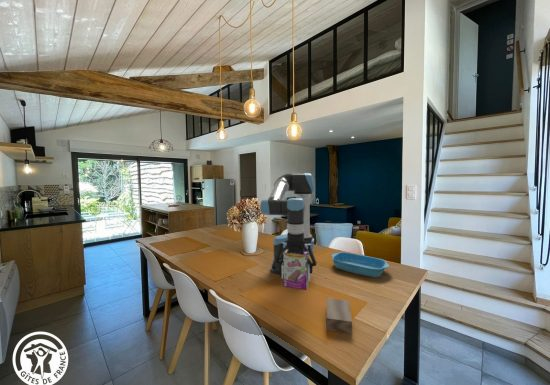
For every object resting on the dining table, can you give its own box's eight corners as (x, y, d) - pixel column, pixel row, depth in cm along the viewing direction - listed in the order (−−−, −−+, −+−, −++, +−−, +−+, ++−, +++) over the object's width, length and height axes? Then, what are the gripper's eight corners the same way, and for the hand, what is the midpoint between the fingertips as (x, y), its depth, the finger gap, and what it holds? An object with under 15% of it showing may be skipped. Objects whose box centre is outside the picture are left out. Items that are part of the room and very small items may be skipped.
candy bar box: (282, 287, 107) (282, 252, 105) (285, 282, 112) (285, 249, 110) (306, 290, 103) (306, 255, 102) (308, 285, 108) (308, 251, 107)
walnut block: (326, 329, 95) (326, 318, 94) (326, 308, 110) (327, 298, 110) (351, 333, 92) (352, 321, 92) (348, 310, 108) (349, 300, 108)
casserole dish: (391, 270, 155) (392, 259, 154) (385, 282, 136) (385, 271, 136) (338, 259, 176) (338, 250, 175) (326, 268, 158) (326, 258, 157)
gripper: (268, 233, 104) (268, 279, 106) (321, 235, 99) (321, 285, 101) (272, 229, 112) (272, 272, 114) (322, 231, 106) (322, 277, 108)
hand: (295, 278), depth 107 cm, fingers closed on candy bar box, 11 cm apart
